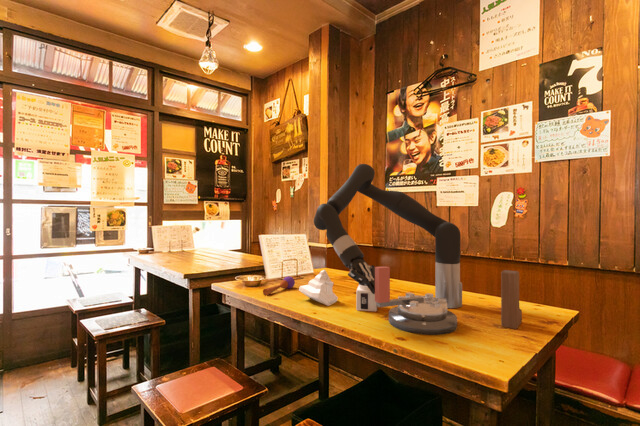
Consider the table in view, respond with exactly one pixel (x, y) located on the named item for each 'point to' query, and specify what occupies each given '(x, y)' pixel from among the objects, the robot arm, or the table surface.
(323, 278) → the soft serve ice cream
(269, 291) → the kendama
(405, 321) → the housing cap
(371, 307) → the container
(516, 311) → the wooden block
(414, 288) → the table surface
